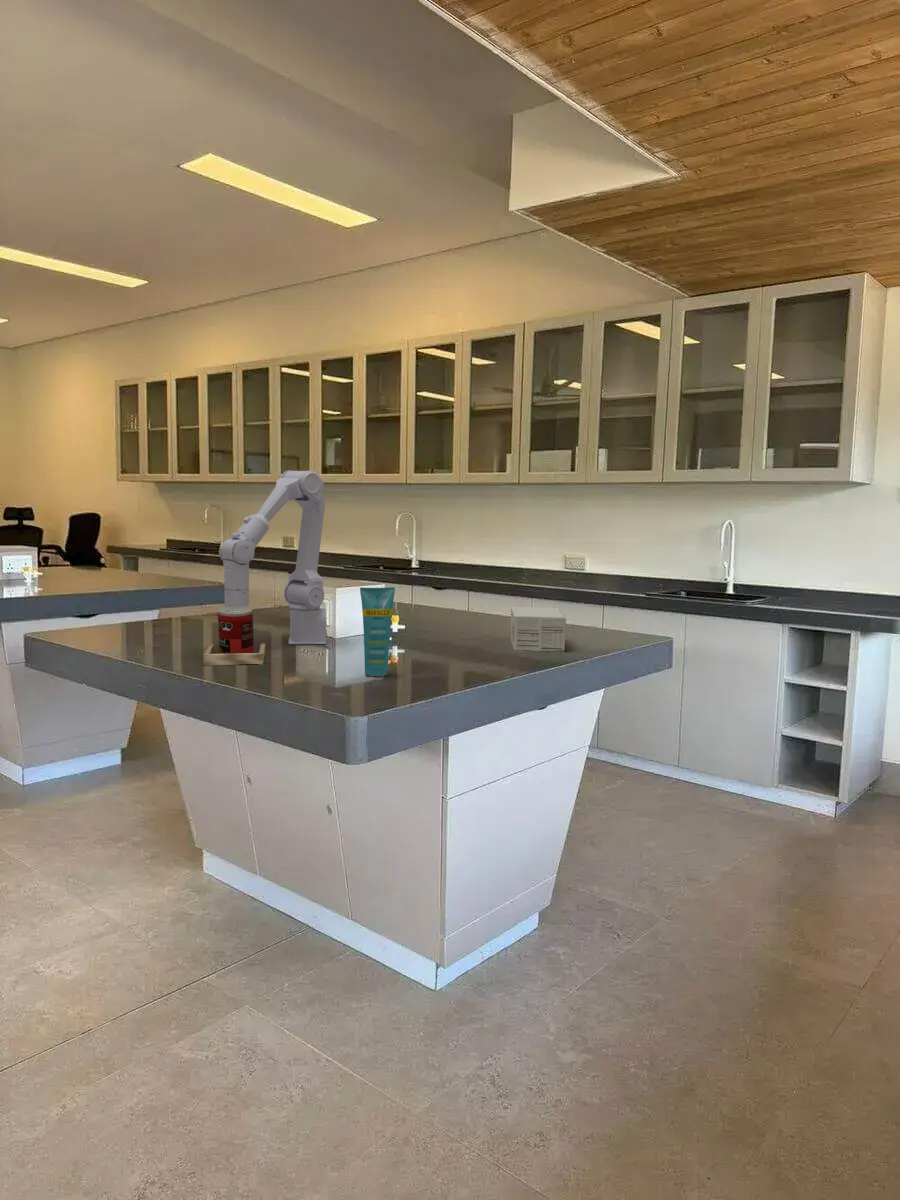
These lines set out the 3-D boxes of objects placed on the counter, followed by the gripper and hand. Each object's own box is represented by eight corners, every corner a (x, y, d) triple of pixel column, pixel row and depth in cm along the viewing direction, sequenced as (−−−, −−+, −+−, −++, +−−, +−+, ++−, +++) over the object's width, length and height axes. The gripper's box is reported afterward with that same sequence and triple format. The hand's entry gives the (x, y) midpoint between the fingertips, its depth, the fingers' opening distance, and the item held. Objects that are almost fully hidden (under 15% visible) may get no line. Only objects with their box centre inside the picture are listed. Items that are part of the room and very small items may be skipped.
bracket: (265, 653, 205) (265, 643, 205) (263, 664, 193) (263, 654, 192) (209, 654, 203) (209, 644, 203) (204, 665, 190) (203, 654, 190)
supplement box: (509, 640, 231) (510, 606, 230) (557, 641, 231) (559, 607, 230) (512, 652, 214) (514, 615, 213) (565, 653, 214) (566, 616, 213)
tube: (361, 677, 181) (362, 588, 179) (357, 673, 186) (358, 585, 183) (395, 676, 183) (396, 588, 181) (391, 671, 188) (392, 585, 185)
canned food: (217, 649, 204) (216, 605, 201) (251, 647, 207) (250, 603, 204) (220, 660, 197) (219, 614, 194) (255, 657, 200) (254, 612, 197)
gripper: (222, 585, 210) (222, 639, 212) (216, 592, 196) (217, 650, 198) (251, 585, 212) (251, 639, 213) (248, 592, 197) (248, 650, 199)
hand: (237, 644), depth 206 cm, fingers closed, pressing on canned food
